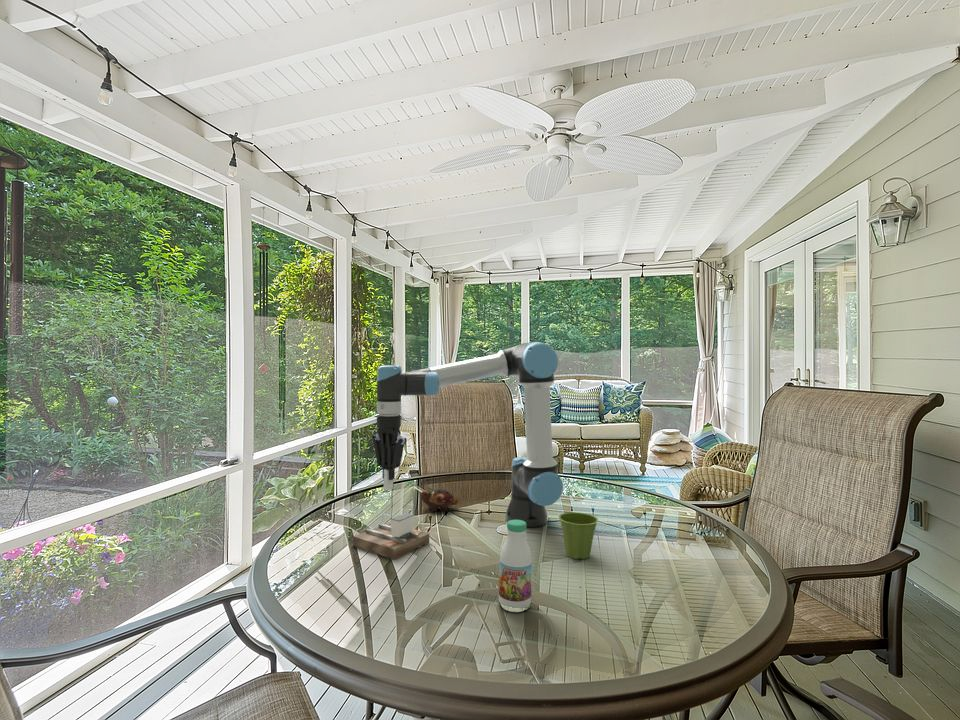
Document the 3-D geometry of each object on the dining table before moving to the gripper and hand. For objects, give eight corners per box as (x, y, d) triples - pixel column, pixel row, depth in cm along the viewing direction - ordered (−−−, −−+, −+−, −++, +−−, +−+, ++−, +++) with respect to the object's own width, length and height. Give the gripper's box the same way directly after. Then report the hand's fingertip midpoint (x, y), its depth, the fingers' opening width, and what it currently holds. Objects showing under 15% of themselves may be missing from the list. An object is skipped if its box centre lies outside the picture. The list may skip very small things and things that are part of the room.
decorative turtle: (415, 508, 190) (417, 487, 191) (452, 506, 197) (453, 486, 197) (424, 514, 182) (425, 492, 182) (461, 512, 188) (463, 491, 189)
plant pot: (599, 550, 153) (600, 514, 153) (595, 565, 141) (596, 526, 141) (561, 545, 157) (562, 509, 156) (554, 559, 145) (555, 521, 145)
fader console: (429, 542, 156) (429, 530, 155) (394, 559, 142) (394, 545, 142) (389, 531, 165) (389, 519, 165) (353, 546, 151) (353, 533, 151)
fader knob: (413, 535, 153) (414, 514, 153) (398, 542, 147) (398, 520, 147) (406, 533, 155) (406, 512, 155) (390, 539, 149) (391, 518, 149)
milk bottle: (496, 597, 121) (498, 516, 121) (527, 597, 122) (529, 516, 122) (500, 614, 113) (502, 527, 113) (533, 613, 114) (536, 527, 114)
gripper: (365, 414, 155) (364, 489, 155) (396, 417, 148) (395, 495, 148) (382, 412, 161) (381, 483, 161) (412, 414, 154) (412, 490, 154)
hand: (388, 489), depth 155 cm, fingers closed
